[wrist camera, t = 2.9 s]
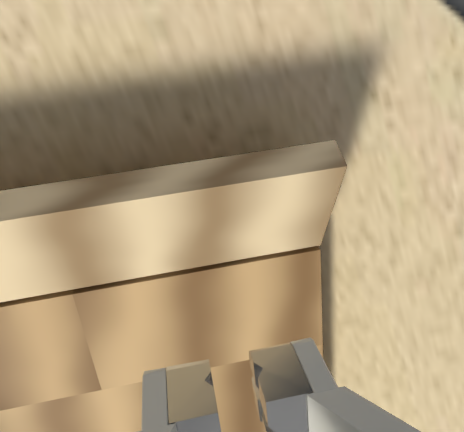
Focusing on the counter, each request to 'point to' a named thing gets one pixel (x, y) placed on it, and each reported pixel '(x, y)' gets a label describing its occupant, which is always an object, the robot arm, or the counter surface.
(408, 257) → the counter surface
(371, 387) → the counter surface
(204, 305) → the laid floor
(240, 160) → the plank
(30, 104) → the counter surface
